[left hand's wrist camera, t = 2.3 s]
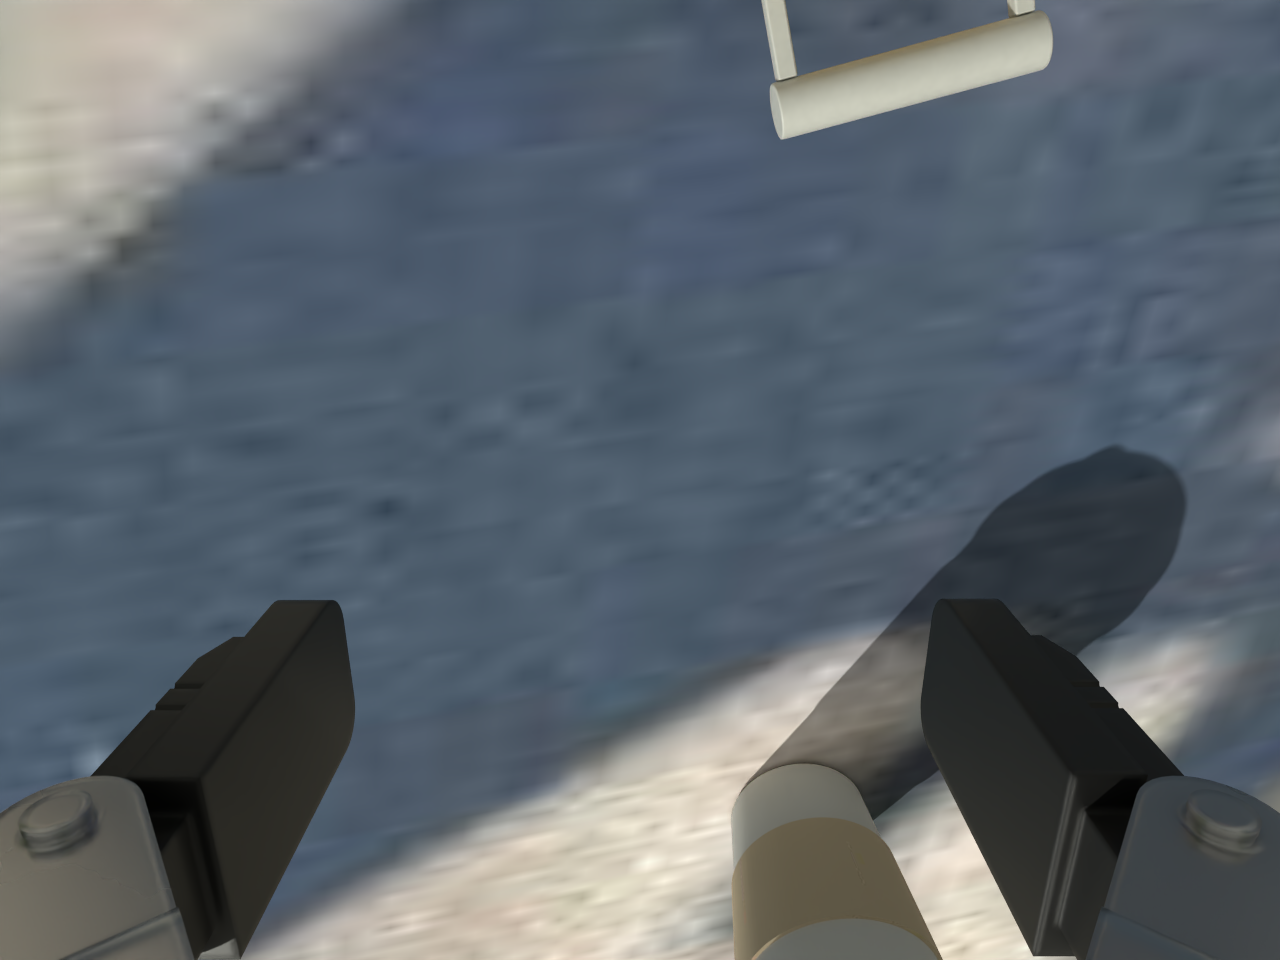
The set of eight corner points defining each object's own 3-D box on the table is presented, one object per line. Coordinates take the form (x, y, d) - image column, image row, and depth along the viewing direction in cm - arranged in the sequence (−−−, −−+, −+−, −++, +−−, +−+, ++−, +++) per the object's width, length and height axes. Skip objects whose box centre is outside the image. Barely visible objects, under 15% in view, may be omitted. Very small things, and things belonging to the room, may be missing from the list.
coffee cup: (914, 839, 44) (1045, 1157, 30) (762, 908, 45) (818, 1240, 31) (836, 716, 41) (941, 1001, 27) (677, 794, 43) (698, 1101, 29)
